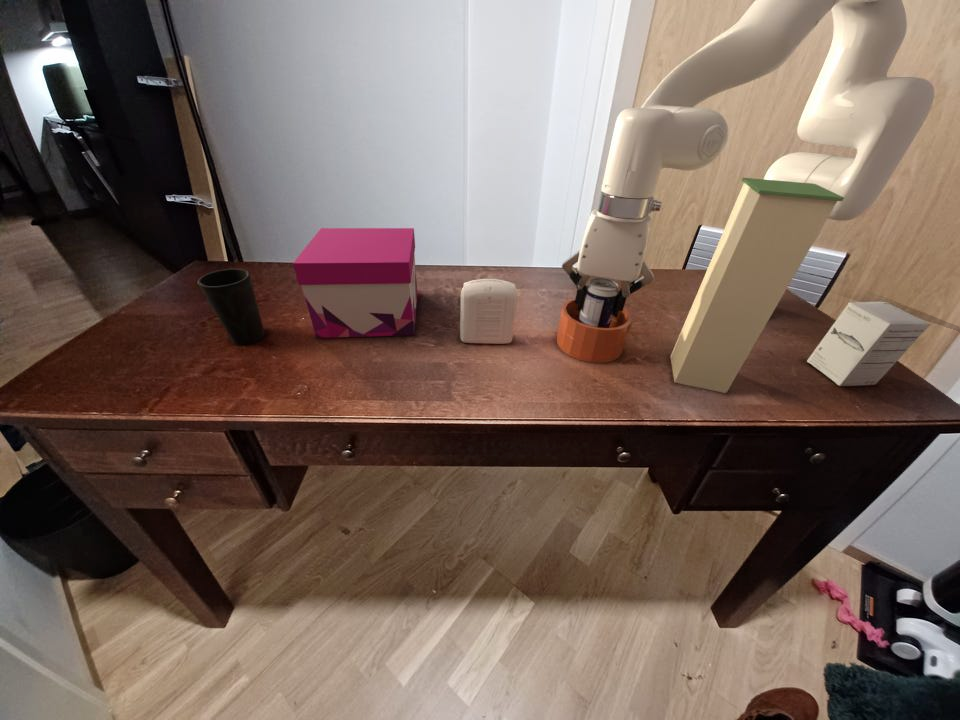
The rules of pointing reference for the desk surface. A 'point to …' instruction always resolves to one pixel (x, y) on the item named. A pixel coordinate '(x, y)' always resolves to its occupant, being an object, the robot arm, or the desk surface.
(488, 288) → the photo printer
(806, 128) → the robot arm
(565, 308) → the pot
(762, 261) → the plant stand
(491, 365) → the desk surface
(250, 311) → the cup
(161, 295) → the desk surface
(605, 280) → the beverage can
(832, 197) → the mat
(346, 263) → the decorative box
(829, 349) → the white packaging box
